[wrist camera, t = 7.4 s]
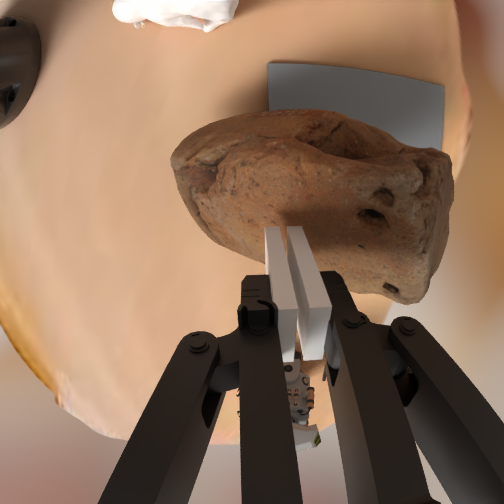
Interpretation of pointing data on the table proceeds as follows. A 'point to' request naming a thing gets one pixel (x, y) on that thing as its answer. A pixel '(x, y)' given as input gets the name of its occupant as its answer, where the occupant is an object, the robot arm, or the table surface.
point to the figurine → (300, 405)
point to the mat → (363, 99)
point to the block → (322, 195)
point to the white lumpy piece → (176, 12)
